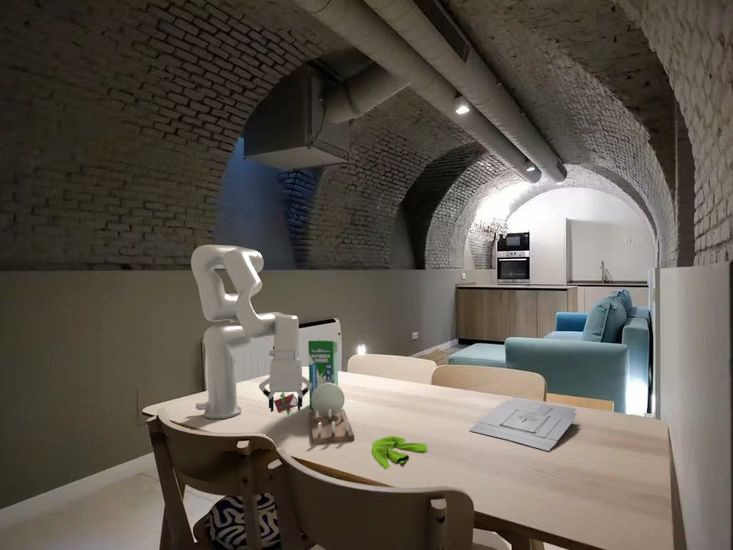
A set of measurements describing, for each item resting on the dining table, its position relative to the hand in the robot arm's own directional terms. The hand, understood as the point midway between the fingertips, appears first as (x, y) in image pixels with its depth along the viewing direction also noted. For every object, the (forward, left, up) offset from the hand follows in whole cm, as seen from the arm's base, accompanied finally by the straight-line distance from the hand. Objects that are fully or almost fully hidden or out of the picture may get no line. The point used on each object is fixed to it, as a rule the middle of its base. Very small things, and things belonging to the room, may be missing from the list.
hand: (285, 409), depth 137 cm
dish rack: (+14, -1, -6) cm, 15 cm away
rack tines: (+14, -1, -5) cm, 15 cm away
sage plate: (+14, +5, -5) cm, 15 cm away
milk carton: (+14, +21, -7) cm, 26 cm away
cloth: (+31, -25, -7) cm, 40 cm away
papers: (+74, -15, -7) cm, 76 cm away
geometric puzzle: (0, 0, -1) cm, 1 cm away
